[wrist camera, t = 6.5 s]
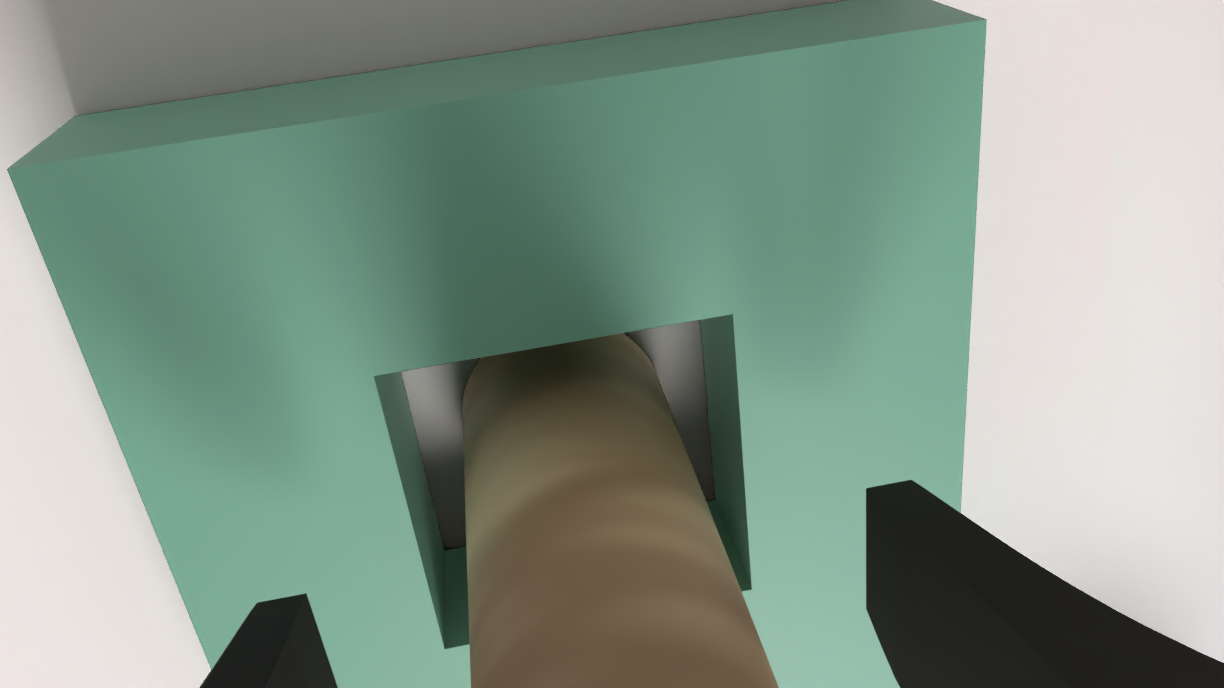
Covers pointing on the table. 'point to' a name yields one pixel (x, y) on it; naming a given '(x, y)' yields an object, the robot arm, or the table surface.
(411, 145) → the socket block
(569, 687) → the dowel
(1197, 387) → the table surface
